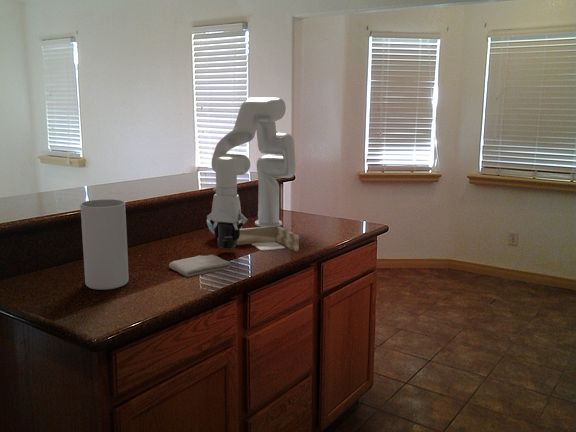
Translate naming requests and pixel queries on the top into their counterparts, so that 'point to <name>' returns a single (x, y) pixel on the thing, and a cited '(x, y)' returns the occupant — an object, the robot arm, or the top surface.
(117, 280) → the cylinder vase
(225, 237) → the supplement bottle
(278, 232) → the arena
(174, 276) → the top surface
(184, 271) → the washcloth
